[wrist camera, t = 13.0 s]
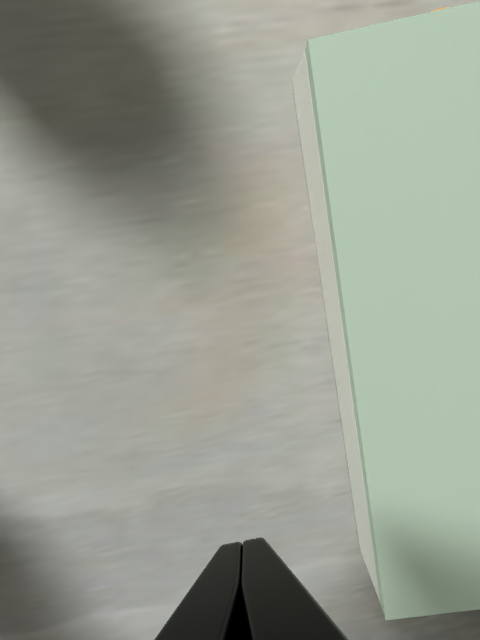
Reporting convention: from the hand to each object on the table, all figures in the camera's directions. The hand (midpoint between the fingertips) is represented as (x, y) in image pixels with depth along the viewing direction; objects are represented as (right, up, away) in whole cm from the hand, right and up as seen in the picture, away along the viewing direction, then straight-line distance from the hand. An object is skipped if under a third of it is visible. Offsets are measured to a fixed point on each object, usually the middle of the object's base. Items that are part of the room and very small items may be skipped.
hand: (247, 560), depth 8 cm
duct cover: (+9, +3, +7) cm, 12 cm away
